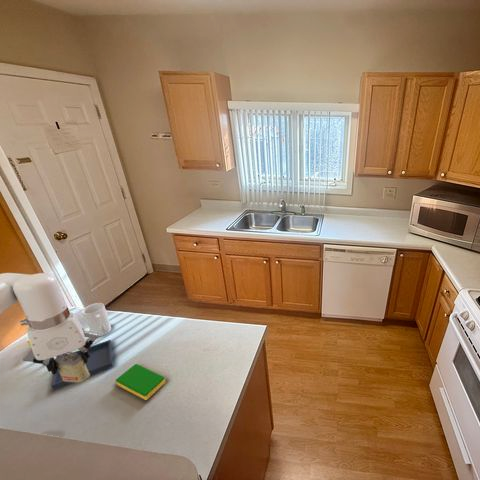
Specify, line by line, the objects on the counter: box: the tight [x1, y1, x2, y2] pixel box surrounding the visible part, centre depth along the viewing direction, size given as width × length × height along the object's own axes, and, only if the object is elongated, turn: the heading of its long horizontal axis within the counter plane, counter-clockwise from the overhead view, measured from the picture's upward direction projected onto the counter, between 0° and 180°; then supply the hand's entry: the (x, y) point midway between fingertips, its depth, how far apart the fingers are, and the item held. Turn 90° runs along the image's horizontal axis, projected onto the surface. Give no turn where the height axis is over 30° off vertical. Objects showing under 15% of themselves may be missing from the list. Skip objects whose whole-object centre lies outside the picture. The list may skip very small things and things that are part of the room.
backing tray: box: [51, 339, 114, 391], centre depth 91 cm, size 15×13×2 cm
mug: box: [81, 302, 112, 338], centre depth 102 cm, size 10×7×12 cm, turn 52°
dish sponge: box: [115, 363, 166, 401], centre depth 85 cm, size 7×14×2 cm, turn 69°
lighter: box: [54, 351, 91, 383], centre depth 75 cm, size 7×4×10 cm, turn 88°
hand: (71, 364), depth 75 cm, fingers closed on lighter, 6 cm apart
